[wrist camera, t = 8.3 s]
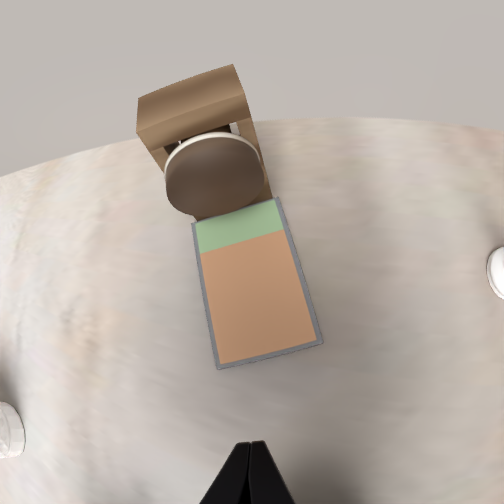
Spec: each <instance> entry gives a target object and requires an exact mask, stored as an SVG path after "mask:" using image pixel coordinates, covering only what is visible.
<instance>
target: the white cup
mask: <svg viewBox="0 0 504 504" xmlns="http://www.w3.org/2000/svg"><path fill="white" fill-rule="evenodd" d="M24 445H25V435H24V428H23V425H22V422H21V419H20V417H19V415H18V413H17V412H16V410H15V409H14V407H12V406H11V405H9V404H8V403H5V402H0V458H6V457H17V456H19V455H20V454H21V453H22V452H23V450H24Z"/></svg>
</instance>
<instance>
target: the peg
mask: <svg viewBox="0 0 504 504" xmlns="http://www.w3.org/2000/svg"><path fill="white" fill-rule="evenodd" d="M164 174H165V181H166V191H167V197H168V200H169V201H170V203H171V204H172V205H173V207H175V208H176V209H177V210H179V211H181V212H183V213H185V214H189V215H193V216H201V217H209V216H218V215H223V214H227V213H230V212H233V211H236V210H238V209H240V208H242V207H244V206H246V205H247V204H249V203H250V202H251V201H253V200H254V199H255V198H256V197H257V195H258V194H259V193H260V191H261V190H262V188H263V185H264V179H265V177H264V172H263V169H262V166H261V163H260V158H259V155H258V152H257V150H256V148H255V147H254V145H253V144H252V143H251V142H250V141H248V140H247V139H245V138H243V137H241V136H239V135H236V134H232V133H231V129H230V126H229V124H227V125H224V126H221V127H218V128H215V129H211V130H208V131H205V132H203V133H200V134H197V135H194V136H191V137H188V138H185V139H183V140H181V144H180V145H179V146H178V147H177V148H176V149H174V151H173V152H172V153H171V154H170V156H169V157H168V159H167V161H166V164H165V169H164Z"/></svg>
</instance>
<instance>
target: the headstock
mask: <svg viewBox="0 0 504 504" xmlns="http://www.w3.org/2000/svg"><path fill="white" fill-rule="evenodd" d="M234 122H236V123H237V126H238V129H239V132H240V135H239V136H241V137H243V138H245V139H247V140H248V141H250V142H251V143H252V144H253V145H254V147H255V148H256V150H257V152H258V155H259V158H260V163H261V166H262V169H263V172H264V177H265V179H264V185H263V188H262V190H261V191H260V193H259V194H258V195H257V197H256V198H255V199H254V200H253V201H251V202H250V203H249V204H247V205H246V206H249V205H252V204H256V203H259V202H262V201H266V200H269V199H273V198H272V194H271V190H270V186H269V182H268V178H267V174H266V171H265V167H264V163H263V159H262V155H261V151H260V148H259V144H258V140H257V136H256V133H255V129H254V125H253V122H252V118H251V114H250V111H249V107H248V103H247V100H246V96H245V93H244V90H243V88H242V86H241V83H240V80H239V78H238V76H237V73H236V70H235V68H234V65H233V64H231V65H228V66H224V67H221V68H218V69H214V70H211V71H209V72H205V73H202V74H199V75H196V76H193V77H190V78H188V79H185V80H182V81H179V82H177V83H174V84H171V85H169V86H166V87H164V88H161V89H159V90H156V91H154V92H151V93H149V94H147V95H144V96H142V97H140V98H138V112H137V127H136V133H137V134H138V136H139V137H140V139H141V140H142V142H143V143H144V145H145V146H146V148H147V149H148V151H149V152H150V154H151V155H152V157H153V158H154V160H155V161H156V162H157V164H158V165H159V167H160V168H161V170H162V171H163V173H164V169H165V164H166V161H167V159H168V157H169V156H170V154H171V153H172V152H173V151H174V149H176V148H177V147H178V146H179V145H180V144H179V142H178V141H180V140H183V139H185V138H188V137H191V136H194V135H197V134H200V133H203V132H205V131H208V130H211V129H215V128H218V127H221V126H224V125H227V124H230V123H234ZM246 206H244V207H246ZM194 217H195V219H196V220H197V221H200V220H204V219H207V218H210V217H213V216H209V217H201V216H194Z"/></svg>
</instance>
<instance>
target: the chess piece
mask: <svg viewBox="0 0 504 504" xmlns="http://www.w3.org/2000/svg"><path fill="white" fill-rule="evenodd" d="M487 276H488V280H489V283H490V286H491V288H492V289H493V291H494V292H495V293H496V294H497V296H499V297H500V298H501V299H503V300H504V247H501V248H499V249H497V250H495V251H494V252H493V253H492V254H491V255H490V257H489V260H488V263H487Z"/></svg>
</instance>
